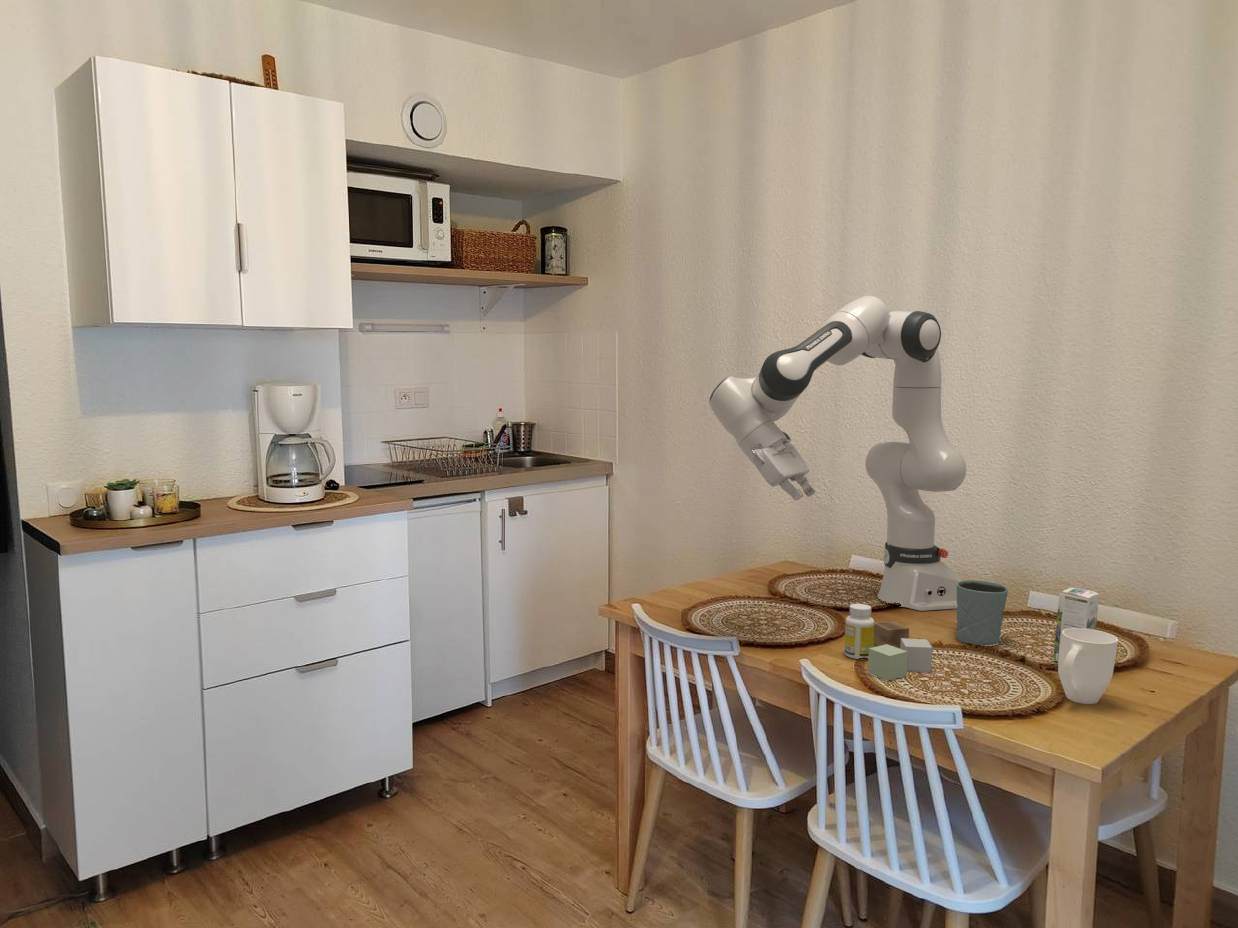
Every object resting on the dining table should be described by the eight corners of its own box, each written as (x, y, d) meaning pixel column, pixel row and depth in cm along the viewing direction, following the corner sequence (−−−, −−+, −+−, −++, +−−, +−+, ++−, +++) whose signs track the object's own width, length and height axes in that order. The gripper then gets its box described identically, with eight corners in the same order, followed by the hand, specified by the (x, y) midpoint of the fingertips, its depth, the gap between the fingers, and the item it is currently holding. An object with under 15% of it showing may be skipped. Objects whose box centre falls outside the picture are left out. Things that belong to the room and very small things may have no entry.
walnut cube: (893, 644, 191) (894, 621, 190) (908, 651, 186) (909, 628, 186) (873, 646, 190) (874, 623, 189) (887, 654, 185) (888, 630, 184)
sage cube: (885, 668, 176) (886, 644, 176) (906, 676, 172) (907, 651, 171) (867, 673, 173) (868, 648, 173) (888, 681, 169) (889, 655, 169)
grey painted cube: (925, 663, 179) (926, 639, 179) (931, 672, 174) (932, 647, 174) (899, 662, 180) (900, 638, 179) (904, 671, 175) (905, 646, 174)
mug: (1068, 685, 168) (1075, 623, 166) (1118, 701, 161) (1126, 636, 159) (1038, 700, 160) (1045, 635, 158) (1090, 717, 154) (1098, 650, 152)
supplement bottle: (875, 653, 185) (877, 604, 184) (870, 661, 180) (872, 611, 178) (847, 649, 187) (849, 601, 186) (841, 657, 182) (843, 608, 181)
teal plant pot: (943, 635, 197) (946, 581, 196) (981, 631, 200) (985, 578, 199) (975, 649, 188) (978, 593, 186) (1015, 645, 191) (1018, 590, 189)
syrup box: (1063, 655, 185) (1068, 586, 183) (1094, 662, 181) (1099, 591, 179) (1052, 661, 181) (1057, 591, 179) (1084, 669, 177) (1089, 597, 175)
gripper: (760, 436, 179) (804, 491, 175) (789, 433, 197) (829, 483, 193) (736, 456, 181) (779, 511, 178) (768, 452, 199) (807, 501, 196)
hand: (806, 496), depth 186 cm, fingers open, 8 cm apart
